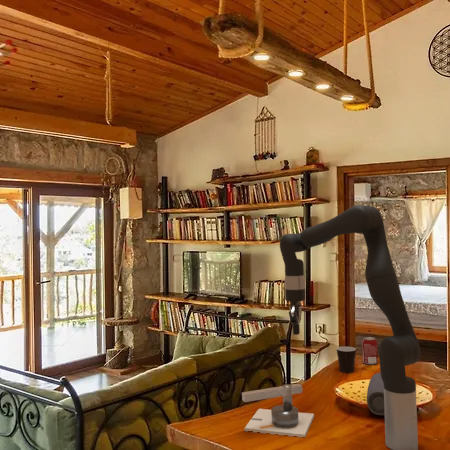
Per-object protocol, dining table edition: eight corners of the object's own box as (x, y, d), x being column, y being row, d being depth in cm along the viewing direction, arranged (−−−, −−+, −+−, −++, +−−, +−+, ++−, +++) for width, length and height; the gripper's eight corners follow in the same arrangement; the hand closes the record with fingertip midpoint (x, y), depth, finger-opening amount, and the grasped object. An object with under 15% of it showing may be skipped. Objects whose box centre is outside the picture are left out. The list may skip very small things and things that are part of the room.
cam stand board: (314, 416, 178) (313, 413, 178) (304, 437, 161) (304, 434, 161) (259, 411, 184) (258, 408, 184) (244, 431, 167) (244, 427, 167)
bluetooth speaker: (394, 420, 172) (393, 391, 172) (366, 417, 175) (365, 389, 175) (394, 397, 194) (394, 371, 194) (369, 395, 197) (368, 370, 197)
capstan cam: (295, 414, 176) (294, 379, 176) (308, 423, 168) (306, 387, 168) (239, 424, 169) (238, 388, 169) (249, 434, 161) (248, 397, 161)
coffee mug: (342, 367, 236) (341, 345, 236) (359, 370, 231) (359, 348, 231) (330, 373, 227) (329, 351, 227) (348, 376, 222) (347, 353, 222)
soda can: (378, 365, 237) (377, 339, 237) (363, 365, 238) (362, 339, 238) (377, 361, 243) (376, 336, 243) (362, 361, 245) (361, 336, 245)
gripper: (301, 290, 180) (303, 338, 180) (308, 285, 192) (309, 330, 192) (280, 289, 182) (282, 337, 182) (288, 285, 195) (290, 330, 195)
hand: (296, 334), depth 187 cm, fingers closed
